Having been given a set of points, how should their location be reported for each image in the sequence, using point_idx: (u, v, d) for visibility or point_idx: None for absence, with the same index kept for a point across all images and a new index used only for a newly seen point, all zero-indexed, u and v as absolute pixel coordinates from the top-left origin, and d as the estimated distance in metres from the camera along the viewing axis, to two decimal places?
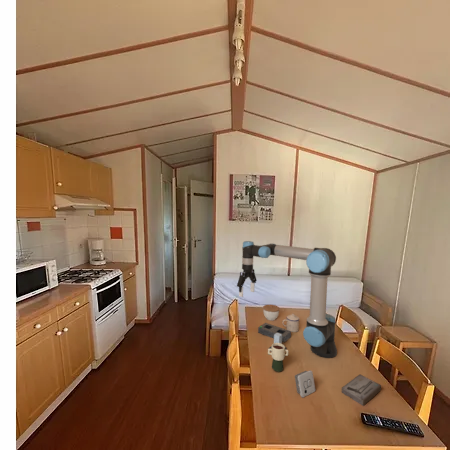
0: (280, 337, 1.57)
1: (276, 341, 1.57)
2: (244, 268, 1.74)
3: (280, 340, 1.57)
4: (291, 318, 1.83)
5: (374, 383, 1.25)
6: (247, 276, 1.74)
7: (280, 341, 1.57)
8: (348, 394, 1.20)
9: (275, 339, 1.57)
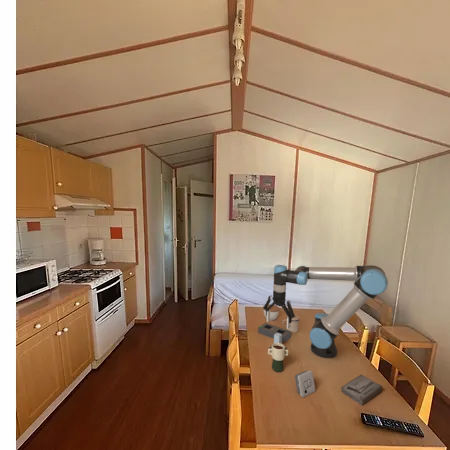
0: (280, 337, 1.57)
1: (276, 341, 1.57)
2: None
3: (280, 340, 1.57)
4: None
5: (375, 384, 1.25)
6: (274, 303, 1.57)
7: (280, 341, 1.57)
8: (347, 393, 1.20)
9: (275, 339, 1.57)
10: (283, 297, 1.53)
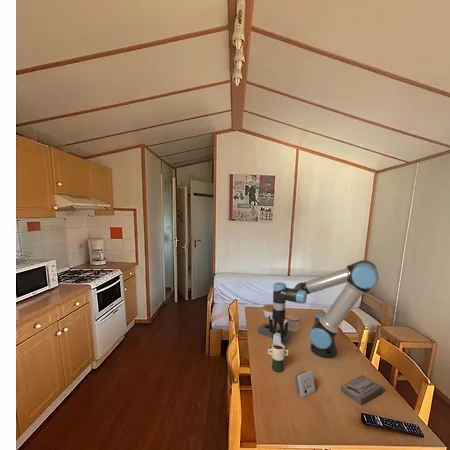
0: None
1: (276, 341, 1.57)
2: None
3: None
4: (291, 318, 1.83)
5: (376, 384, 1.24)
6: (275, 322, 1.57)
7: None
8: (347, 393, 1.21)
9: (275, 339, 1.57)
10: (282, 315, 1.54)
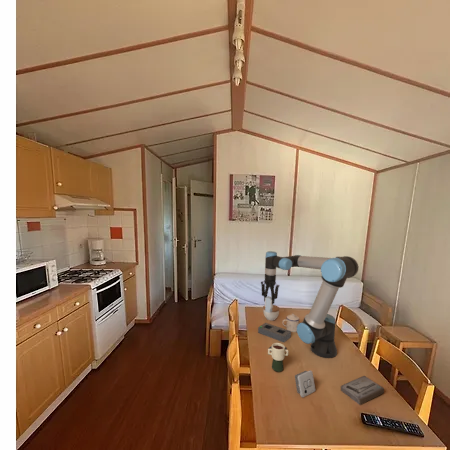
0: None
1: (267, 303, 1.77)
2: None
3: (270, 302, 1.76)
4: (291, 318, 1.83)
5: (377, 385, 1.24)
6: (267, 286, 1.76)
7: None
8: (346, 392, 1.21)
9: (266, 301, 1.77)
10: (273, 279, 1.73)
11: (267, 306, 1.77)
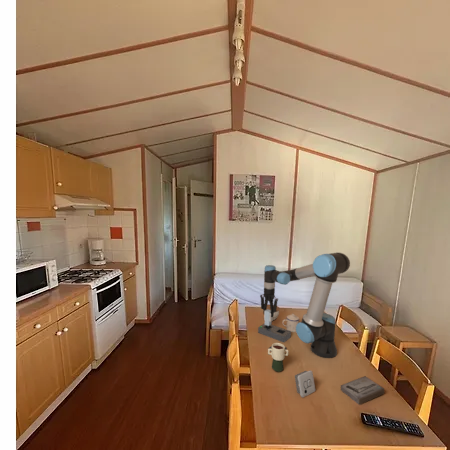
0: None
1: (266, 316, 1.79)
2: None
3: None
4: (291, 318, 1.83)
5: (377, 386, 1.23)
6: (266, 299, 1.79)
7: None
8: (346, 392, 1.21)
9: (266, 314, 1.79)
10: (272, 293, 1.76)
11: (266, 319, 1.79)
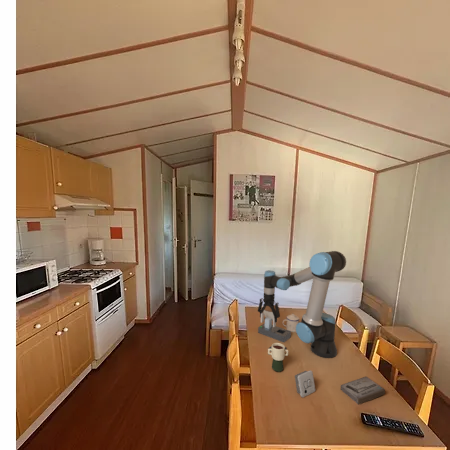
0: (270, 321, 1.79)
1: (266, 324, 1.80)
2: None
3: (269, 323, 1.79)
4: (291, 318, 1.83)
5: (378, 386, 1.23)
6: (265, 304, 1.80)
7: (270, 324, 1.80)
8: (346, 392, 1.22)
9: (266, 323, 1.80)
10: (272, 298, 1.76)
11: (266, 327, 1.80)
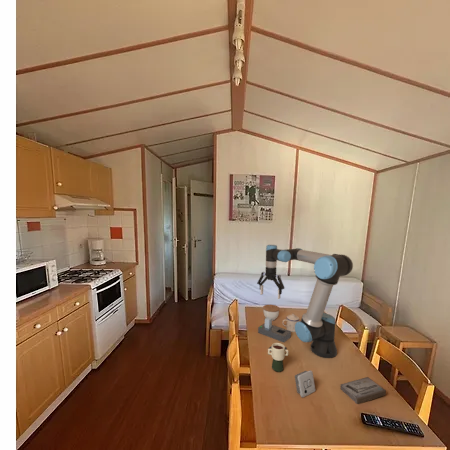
0: (270, 321, 1.79)
1: (266, 324, 1.80)
2: None
3: (269, 323, 1.79)
4: (291, 318, 1.83)
5: (378, 387, 1.22)
6: (266, 278, 1.81)
7: (270, 324, 1.80)
8: (345, 391, 1.22)
9: (266, 323, 1.80)
10: (274, 272, 1.78)
11: (266, 327, 1.80)
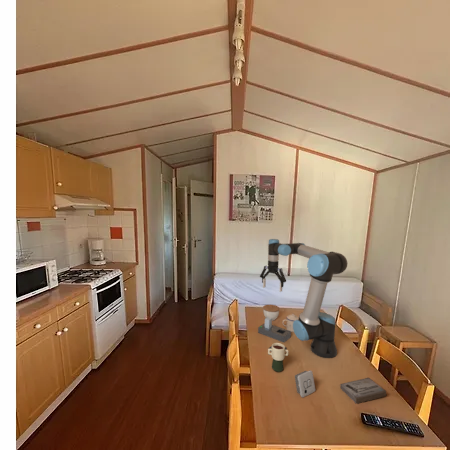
0: (270, 321, 1.79)
1: (266, 324, 1.80)
2: None
3: (269, 323, 1.79)
4: (291, 318, 1.83)
5: (379, 388, 1.22)
6: (269, 271, 1.86)
7: (270, 324, 1.80)
8: (345, 391, 1.22)
9: (266, 323, 1.80)
10: (276, 265, 1.82)
11: (266, 327, 1.80)
